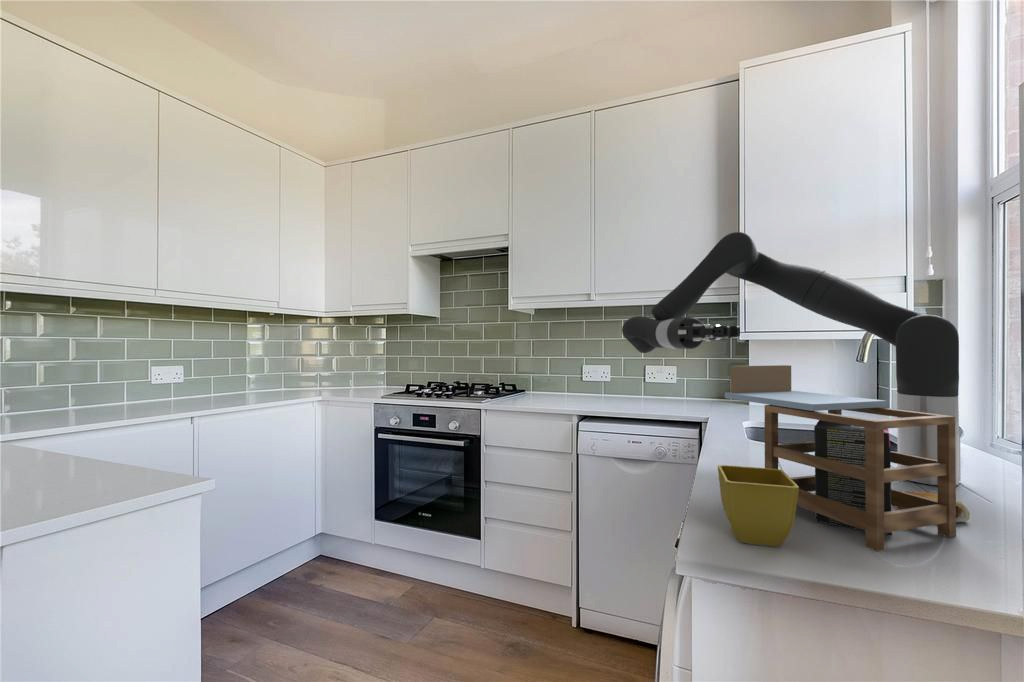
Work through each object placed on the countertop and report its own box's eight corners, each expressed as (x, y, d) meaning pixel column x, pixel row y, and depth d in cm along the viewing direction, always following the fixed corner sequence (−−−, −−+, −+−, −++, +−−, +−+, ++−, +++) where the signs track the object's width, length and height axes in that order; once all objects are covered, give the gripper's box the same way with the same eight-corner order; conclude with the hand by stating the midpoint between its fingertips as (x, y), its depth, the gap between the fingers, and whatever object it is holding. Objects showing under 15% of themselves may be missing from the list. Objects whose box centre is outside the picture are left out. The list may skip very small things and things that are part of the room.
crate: (834, 497, 82) (833, 401, 82) (956, 536, 65) (955, 416, 65) (764, 506, 77) (764, 405, 78) (876, 551, 60) (876, 421, 61)
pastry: (883, 504, 79) (883, 481, 79) (922, 504, 79) (922, 482, 79) (932, 525, 70) (932, 500, 70) (977, 526, 70) (977, 500, 70)
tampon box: (893, 538, 64) (892, 432, 64) (813, 522, 70) (813, 425, 70) (889, 515, 73) (888, 422, 73) (819, 502, 78) (818, 416, 79)
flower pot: (800, 557, 59) (800, 486, 59) (726, 548, 61) (725, 480, 61) (782, 530, 67) (781, 468, 67) (717, 523, 70) (717, 464, 70)
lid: (789, 395, 91) (789, 365, 91) (886, 406, 74) (886, 369, 74) (724, 398, 86) (724, 366, 86) (812, 411, 69) (812, 371, 69)
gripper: (654, 317, 109) (706, 312, 92) (702, 318, 113) (760, 313, 97) (654, 348, 109) (706, 349, 92) (702, 348, 113) (760, 349, 96)
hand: (733, 331), depth 95 cm, fingers closed
